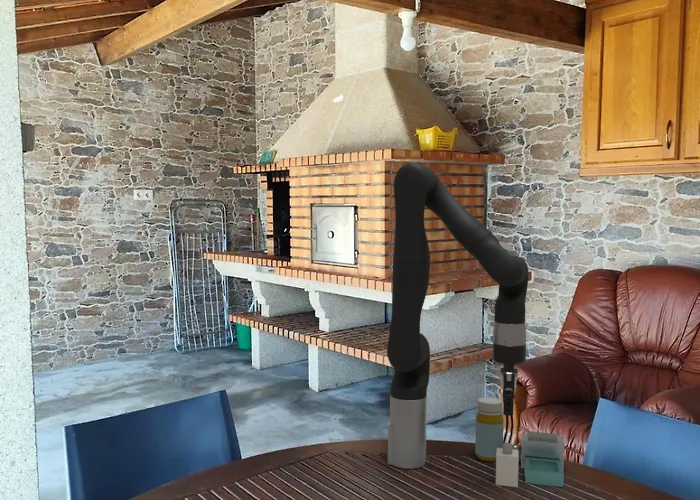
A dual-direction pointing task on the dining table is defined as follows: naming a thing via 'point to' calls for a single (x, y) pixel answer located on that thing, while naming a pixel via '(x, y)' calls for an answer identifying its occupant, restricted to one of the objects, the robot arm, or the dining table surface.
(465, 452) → the dining table surface
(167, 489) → the dining table surface
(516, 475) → the white cube with peg
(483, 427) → the bottle
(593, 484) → the dining table surface
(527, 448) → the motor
